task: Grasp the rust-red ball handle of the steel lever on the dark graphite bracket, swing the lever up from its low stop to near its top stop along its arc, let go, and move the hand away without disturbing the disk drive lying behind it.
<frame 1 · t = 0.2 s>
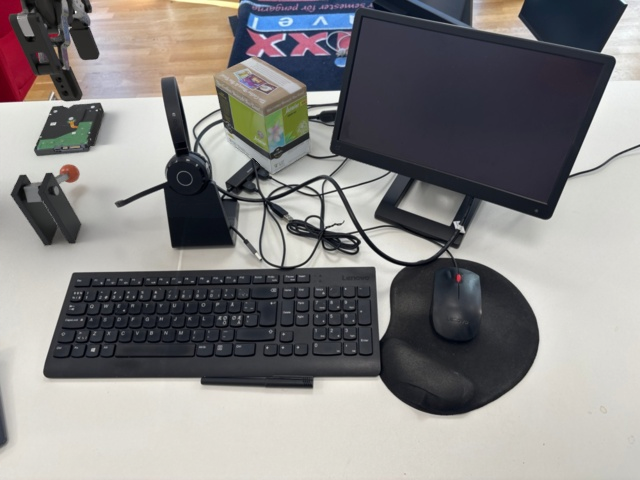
hand: (82, 78, 59), 33 cm above the table, tool pointing down, fingers open, 8 cm apart
lever: (54, 182, 85), point 8 cm above the table, hinge at -28.0°
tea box: (268, 147, 102), on the table
disk drive: (74, 136, 106), on the table
bracket: (66, 239, 87), on the table
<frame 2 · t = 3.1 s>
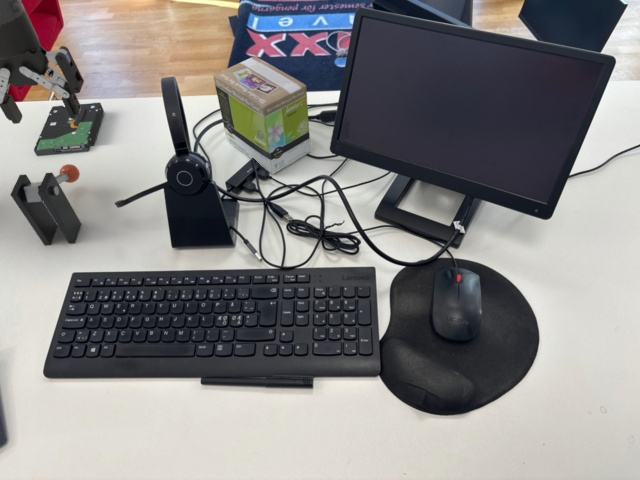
hand: (47, 118, 78), 19 cm above the table, tool pointing down, fingers open, 8 cm apart
nothing on the table moved.
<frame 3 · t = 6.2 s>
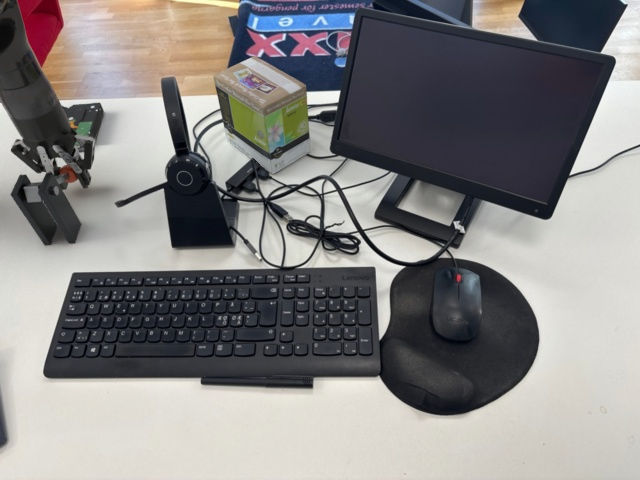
hand: (75, 185, 92), 3 cm above the table, tool pointing down, fingers closed on lever, 3 cm apart
lever: (54, 182, 85), point 8 cm above the table, hinge at -28.1°, touching gripper
everything else where it was.
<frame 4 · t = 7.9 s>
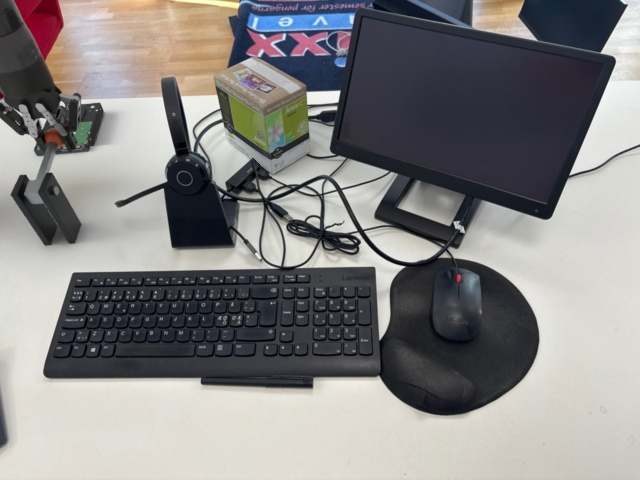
hand: (61, 150, 88), 10 cm above the table, tool pointing down, fingers closed on lever, 3 cm apart
lever: (46, 163, 83), point 12 cm above the table, hinge at 4.9°, touching gripper
everything else where it was.
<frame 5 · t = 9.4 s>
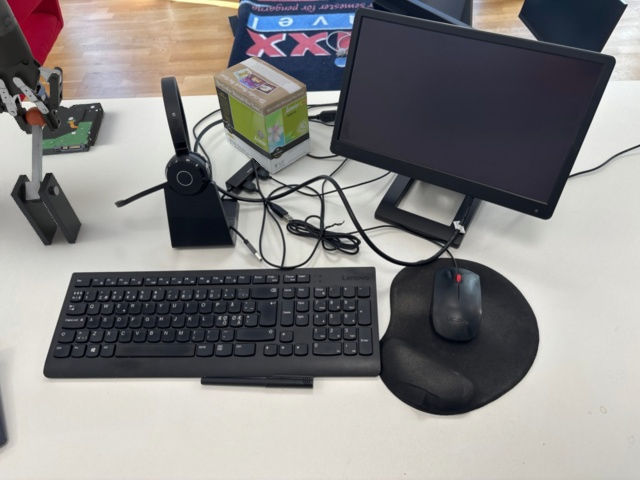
hand: (43, 129, 82), 15 cm above the table, tool pointing down, fingers closed on lever, 3 cm apart
lever: (37, 153, 80), point 14 cm above the table, hinge at 32.8°, touching gripper
everything else where it was.
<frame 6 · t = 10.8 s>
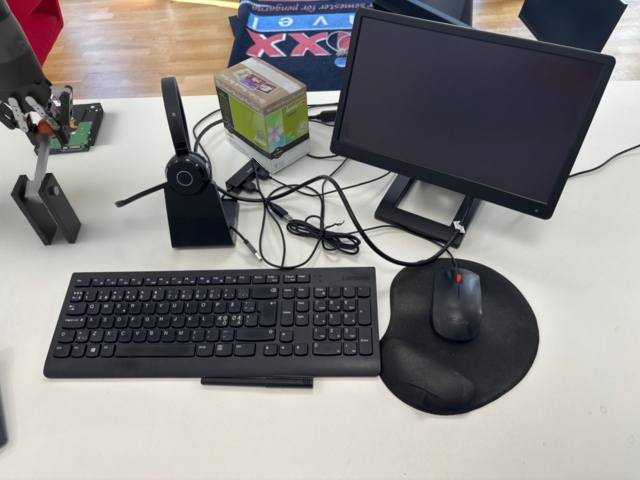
hand: (53, 144, 85), 12 cm above the table, tool pointing down, fingers open, 3 cm apart
lever: (42, 158, 81), point 13 cm above the table, hinge at 16.8°
everything else where it was.
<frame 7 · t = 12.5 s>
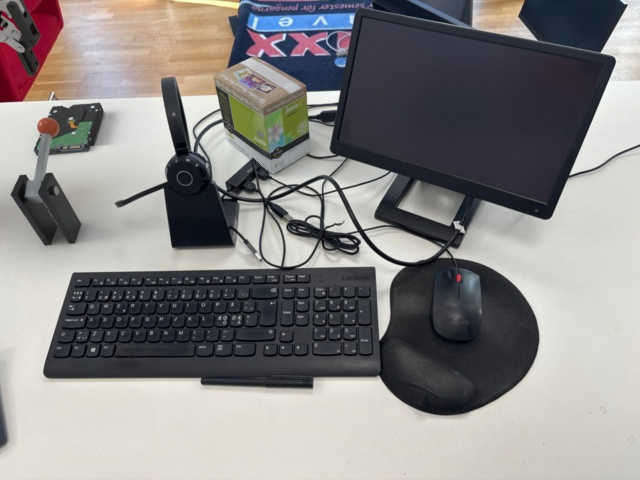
hand: (3, 75, 74), 25 cm above the table, tool pointing down, fingers open, 8 cm apart
nothing on the table moved.
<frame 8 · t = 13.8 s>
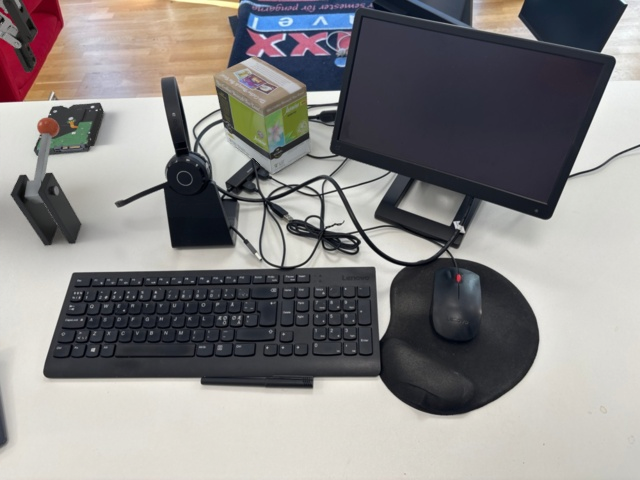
hand: (0, 71, 74), 26 cm above the table, tool pointing down, fingers open, 8 cm apart
nothing on the table moved.
at the end: lever reached +33° during the clip, +17° at the end; lever at +17° (first picture: -28°); disk drive moved 0.2 cm from its start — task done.
